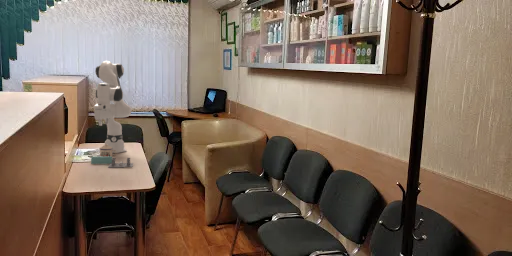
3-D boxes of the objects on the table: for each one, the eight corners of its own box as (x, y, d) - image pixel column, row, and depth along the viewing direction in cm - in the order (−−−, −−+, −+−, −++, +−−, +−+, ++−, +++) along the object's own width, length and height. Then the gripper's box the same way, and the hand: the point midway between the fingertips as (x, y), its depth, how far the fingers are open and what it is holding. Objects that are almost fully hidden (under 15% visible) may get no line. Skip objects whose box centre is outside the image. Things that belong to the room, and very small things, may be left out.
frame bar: (91, 163, 299) (91, 156, 298) (112, 163, 302) (112, 156, 301) (91, 163, 296) (91, 157, 296) (111, 163, 300) (111, 157, 299)
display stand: (109, 164, 297) (110, 156, 296) (133, 164, 301) (133, 156, 300) (108, 167, 287) (108, 160, 286) (132, 167, 291) (132, 160, 290)
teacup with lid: (98, 160, 306) (98, 145, 304) (100, 158, 315) (100, 143, 313) (115, 160, 308) (115, 145, 307) (117, 158, 317) (117, 143, 315)
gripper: (105, 104, 307) (105, 123, 308) (92, 106, 286) (92, 126, 288) (114, 105, 306) (114, 123, 308) (101, 106, 286) (101, 126, 288)
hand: (103, 125), depth 298 cm, fingers open, 8 cm apart
